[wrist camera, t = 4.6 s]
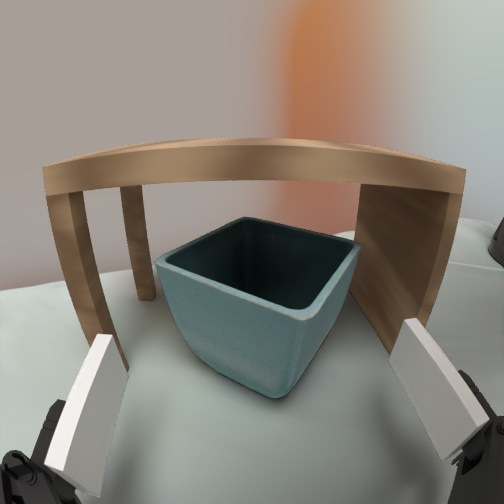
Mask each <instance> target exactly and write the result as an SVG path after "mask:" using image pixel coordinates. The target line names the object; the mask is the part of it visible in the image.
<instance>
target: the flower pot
mask: <svg viewBox="0 0 504 504" xmlns="http://www.w3.org/2000/svg"><path fill="white" fill-rule="evenodd" d="M360 249H361V244H360V243H359V242H356V241H353V240H349V239H346V238H341V237H337V236H333V235H327V234H324V233H319V232H314V231H310V230H306V229H301V228H296V227H292V226H288V225H284V224H280V223H275V222H271V221H267V220H262V219H257V218H251V217H242V218H239V219H237V220H235V221H232V222H230V223H228V224H226V225H224V226H222V227H220V228H218V229H216V230H214V231H211V232H210V233H207V234H205V235H203V236H201V237H199V238H197V239H195V240H193V241H191V242H189V243H187V244H185V245H183V246H180V247H178V248H176V249H174V250H172V251H170V252H167V253H165V254H163V255H162V256H160V257H159V258H157V259H156V260H155V261H154V262H155V265H156V269H157V272H158V275H159V278H160V281H161V284H162V287H163V290H164V294H165V297H166V300H167V303H168V305H169V308H170V311H171V314H172V316H173V319H174V321H175V324H176V326H177V328H178V330H179V332H180V334H181V336H182V337H183V339H184V340H185V342H186V343H187V345H188V346H189V347H190V348H191V350H192V351H193V352H194V353H195V354H196V355H197V356H198V357H199V358H200V359H202V360H203V361H204V362H205V363H206V364H208V365H209V366H210V367H212V368H213V369H214V370H216V371H217V372H219V373H221V374H223V375H225V376H227V377H229V378H231V379H233V380H235V381H237V382H239V383H241V384H243V385H245V386H246V387H248V388H250V389H252V390H255V391H257V392H259V393H261V394H263V395H265V396H267V397H269V398H279V397H282V396H284V395H286V394H287V393H288V392H289V391H290V390H291V389H292V388H293V387H294V386H295V384H296V383H297V381H298V380H299V378H300V376H301V375H302V373H303V372H304V370H305V369H306V367H307V366H308V364H309V363H310V361H311V360H312V358H313V356H314V355H315V353H316V352H317V350H318V349H319V347H320V345H321V344H322V342H323V341H324V339H325V337H326V336H327V334H328V333H329V331H330V329H331V328H332V326H333V325H334V323H335V321H336V319H337V317H338V315H339V313H340V311H341V309H342V306H343V304H344V301H345V298H346V295H347V292H348V289H349V286H350V283H351V280H352V277H353V273H354V270H355V267H356V263H357V260H358V256H359V253H360Z"/></svg>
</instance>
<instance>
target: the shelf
mask: <svg viewBox="0 0 504 504" xmlns="http://www.w3.org/2000/svg"><path fill="white" fill-rule="evenodd" d="M42 170H43V178H44V185H45V193H46V199H47V206H48V211H49V217H50V221H51V226H52V231H53V236H54V240H55V244H56V248H57V252H58V256H59V260H60V263H61V267H62V271H63V274H64V278H65V281H66V284H67V287H68V290H69V294H70V297H71V299H72V302H73V305H74V308H75V311H76V314H77V316H78V319H79V322H80V324H81V327H82V329H83V332H84V334H85V337H86V339H87V341H88V344H89V346H90V348H91V346H92V344H93V342H94V340H95V338H96V336H97V334H106V335H113V338H114V341H115V343H116V346H117V349H118V351H119V354H120V356H121V359H122V361H123V364H124V366H125V369H126V371H127V372H128V369H129V367H128V364H127V361H126V359H125V356H124V354H123V351H122V348H121V346H120V343H119V340H118V337H117V334H116V331H115V328H114V325H113V322H112V319H111V316H110V313H109V310H108V306H107V303H106V300H105V296H104V293H103V289H102V285H101V282H100V278H99V274H98V271H97V266H96V262H95V257H94V253H93V249H92V243H91V239H90V233H89V228H88V223H87V217H86V211H85V205H84V198H83V191H86V190H94V189H103V188H112V187H120V192H121V201H122V208H123V215H124V223H125V230H126V236H127V243H128V249H129V254H130V260H131V265H132V270H133V275H134V280H135V285H136V289H137V294H138V298H139V300H153V299H154V296H155V294H156V288H155V282H154V276H153V271H152V264H151V258H150V252H149V245H148V238H147V231H146V222H145V214H144V205H143V196H142V195H143V194H142V185H146V184H158V183H174V182H195V181H226V180H295V181H298V180H299V181H326V182H347V183H361V188H360V198H359V206H358V214H357V222H356V229H355V236H354V241H356V242H359V243H360V244H361V249H360V253H359V256H358V260H357V263H356V267H355V270H354V273H353V277H352V280H351V283H350V286H349V291H350V292H351V294H352V295H353V297H354V298H355V300H356V302H357V303H358V305H359V306H360V308H361V309H362V311H363V312H364V314H365V315H366V317H367V319H368V320H369V322H370V323H371V325H372V327H373V328H374V330H375V331H376V333H377V335H378V336H379V338H380V339H381V341H382V343H383V344H384V346H385V348H386V349H387V351H388V353H389V354H390V355H391V352H392V350H393V348H394V345H395V343H396V340H397V337H398V335H399V332H400V330H401V327H402V324H403V321H404V320H406V319H412V318H417V319H418V321H419V322H420V323H421V324H422V326H423V327H424V328H425V326H426V324H427V321H428V319H429V316H430V313H431V311H432V308H433V305H434V303H435V300H436V297H437V294H438V291H439V288H440V285H441V282H442V279H443V276H444V273H445V270H446V266H447V263H448V259H449V256H450V252H451V248H452V244H453V240H454V236H455V232H456V227H457V223H458V218H459V213H460V208H461V202H462V196H463V190H464V183H465V176H466V169H463V168H460V167H456V166H453V165H450V164H446V163H443V162H439V161H436V160H432V159H428V158H424V157H420V156H416V155H412V154H407V153H403V152H399V151H394V150H390V149H385V148H379V147H374V146H366V145H359V144H350V143H340V142H329V141H316V140H300V139H277V138H216V139H193V140H179V141H165V142H154V143H144V144H136V145H128V146H121V147H117V148H112V149H108V150H103V151H98V152H95V153H90V154H86V155H82V156H78V157H75V158H71V159H67V160H64V161H60V162H57V163H54V164H51V165H47V166H44V167H42Z"/></svg>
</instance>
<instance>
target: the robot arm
mask: <svg viewBox="0 0 504 504" xmlns="http://www.w3.org/2000/svg"><path fill="white" fill-rule="evenodd" d="M489 252H490V254H491V255H492V256H493V257H494V258H495V259H496V260H497V261H498V262H499V263H500V264H502V265H503V266H504V217H503V219H502V221H501V223H500V225H499V227H498V228H497V230H496V232H495V233H494V235H493V237H492V239H491V243H490V246H489ZM388 362H389V363H390V365H391V367H392V369H393V370H394V372H395V374H396V376H397V377H398V379H399V381H400V383H401V384H402V386H403V388H404V390H405V392H406V393H407V395H408V397H409V399H410V401H411V403H412V404H413V406H414V408H415V410H416V412H417V414H418V416H419V418H420V419H421V421H422V423H423V425H424V427H425V429H426V431H427V433H428V435H429V437H430V439H431V441H432V443H433V445H434V447H435V449H436V451H437V453H438V455H439V457H440V460H441V462H442V461H443V460H445V459H447V458H449V457H451V456H453V455H454V454H455V453H457V452H458V451H459V450H460V449H461V448H462V449H463V452H461V453H460V454H459V455H458V456H457V457H456V458H455V459H454V460H453V461H452V463H451V465H453V464H455V463H456V462H457V461H458V460H459V462H458V463H457V464H456V466H458V468H457V472H456V476H455V480H454V483H453V487H452V490H451V494H450V497H449V500H448V503H447V504H504V416H497V415H496V414H495V413H494V411H493V410H492V408H491V407H490V405H489V404H488V402H487V401H486V399H485V398H484V396H483V395H482V393H481V392H479V389H478V388H477V386H475V383H474V382H473V381H472V379H471V378H470V377H469V376H468V375H467V374H466V373H464V372H463V371H462V370H459V371H457V370H456V369H455V367H454V366H453V364H452V363H451V362H450V360H449V359H448V358H447V356H446V355H445V354H444V352H443V351H442V350H441V348H440V347H439V346H438V345H437V343H436V342H435V341H434V339H433V338H432V337H431V336H430V334H429V333H428V332H427V331H426V329H425V328H424V327H423V326H422V324H421V323H420V322H419V321H418V319H417V318H412V319H406V320H404V321H403V324H402V327H401V330H400V332H399V335H398V337H397V340H396V343H395V345H394V348H393V350H392V352H391V355H390V357H389V359H388ZM128 378H129V376H128V373H127V371H126V369H125V366H124V364H123V361H122V359H121V356H120V354H119V351H118V349H117V346H116V343H115V341H114V338H113V335H106V334H97V336H96V338H95V340H94V342H93V344H92V346H91V348H90V350H89V352H88V354H87V356H86V358H85V360H84V363H83V365H82V367H81V369H80V371H79V374H78V376H77V378H76V380H75V383H74V385H73V387H72V389H71V392H70V394H69V397H68V399H67V401H63V400H59V399H58V400H57V401H56V402H55V403H54V404H53V405H52V406H51V407H50V409H49V412H48V414H47V416H46V420H45V421H44V424H43V428H42V429H41V431H40V434H39V437H38V439H37V442H36V445H35V448H34V451H33V453H32V456H31V458H30V459H29V458H28V457H27V456H26V455H24V454H23V453H22V452H21V451H18V450H12V451H9V452H8V453H6V455H5V456H4V457H3V461H2V465H1V464H0V504H81V502H80V500H79V498H78V497H77V495H76V494H75V488H77V489H78V490H80V491H81V492H83V493H86V494H89V495H92V496H96V497H99V498H100V494H101V489H102V483H103V478H104V473H105V468H106V463H107V459H108V454H109V450H110V445H111V441H112V437H113V433H114V429H115V425H116V421H117V417H118V413H119V409H120V406H121V402H122V399H123V395H124V392H125V388H126V385H127V381H128Z"/></svg>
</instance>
